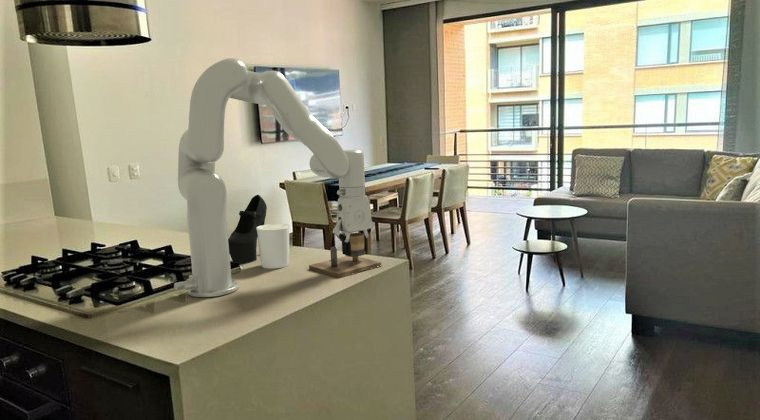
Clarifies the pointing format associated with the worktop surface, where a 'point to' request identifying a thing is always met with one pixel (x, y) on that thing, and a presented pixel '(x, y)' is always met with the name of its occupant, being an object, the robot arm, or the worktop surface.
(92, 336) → the worktop surface
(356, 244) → the sleeve
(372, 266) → the pin board
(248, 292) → the worktop surface
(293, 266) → the worktop surface
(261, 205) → the high-heeled shoe
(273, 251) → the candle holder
